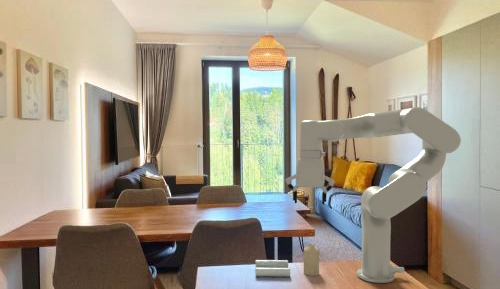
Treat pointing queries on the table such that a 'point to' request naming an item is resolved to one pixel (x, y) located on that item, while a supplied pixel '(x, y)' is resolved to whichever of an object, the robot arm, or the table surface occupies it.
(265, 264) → the track
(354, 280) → the table surface
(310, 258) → the candle
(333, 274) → the table surface
